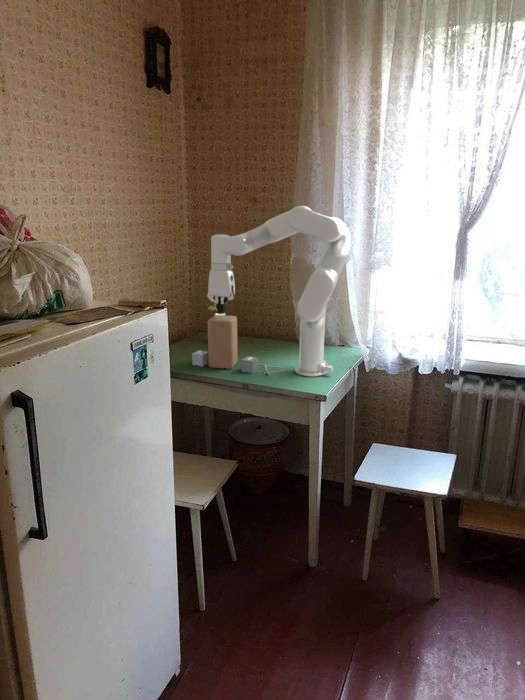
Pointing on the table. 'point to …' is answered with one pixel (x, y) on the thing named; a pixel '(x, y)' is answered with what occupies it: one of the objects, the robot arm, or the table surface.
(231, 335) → the wooden block
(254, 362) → the charcoal block marked 1
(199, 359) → the slate block marked 7
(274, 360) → the table surface
